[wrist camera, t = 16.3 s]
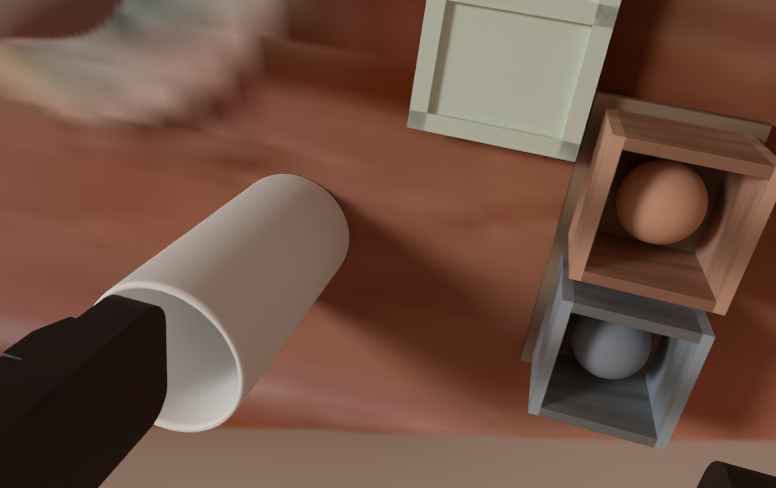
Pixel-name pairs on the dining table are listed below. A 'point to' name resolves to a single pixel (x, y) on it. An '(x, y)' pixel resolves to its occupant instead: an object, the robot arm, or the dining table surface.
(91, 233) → the dining table surface
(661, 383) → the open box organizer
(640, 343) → the ball slate
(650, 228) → the ball terracotta
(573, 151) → the pocket board
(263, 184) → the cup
